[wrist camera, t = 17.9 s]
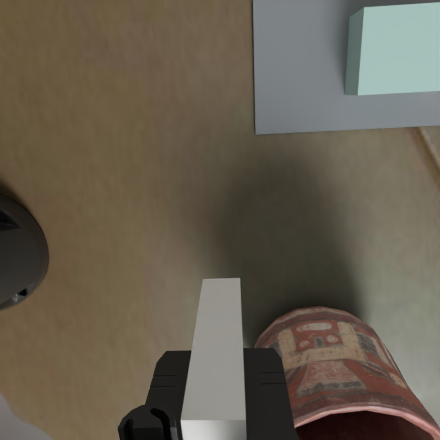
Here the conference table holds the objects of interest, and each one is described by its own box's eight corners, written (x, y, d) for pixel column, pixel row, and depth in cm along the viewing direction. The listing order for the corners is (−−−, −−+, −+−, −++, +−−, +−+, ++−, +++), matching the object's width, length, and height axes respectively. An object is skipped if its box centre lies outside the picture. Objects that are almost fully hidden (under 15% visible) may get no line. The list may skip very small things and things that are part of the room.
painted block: (357, 95, 32) (459, 89, 32) (364, 7, 30) (474, -1, 29) (344, 95, 36) (435, 90, 35) (349, 17, 34) (447, 10, 33)
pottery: (404, 355, 47) (500, 501, 30) (295, 416, 51) (325, 575, 34) (328, 260, 43) (390, 368, 26) (217, 335, 47) (207, 470, 30)
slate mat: (255, 134, 38) (255, 134, 38) (251, -44, 33) (252, -46, 32) (447, 124, 37) (449, 124, 37) (476, -61, 32) (479, -63, 31)
